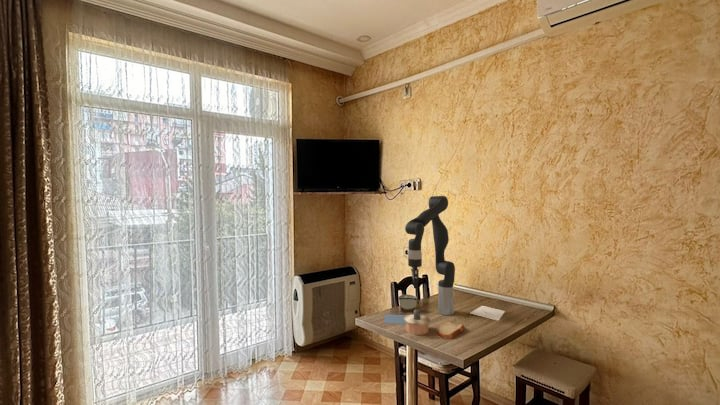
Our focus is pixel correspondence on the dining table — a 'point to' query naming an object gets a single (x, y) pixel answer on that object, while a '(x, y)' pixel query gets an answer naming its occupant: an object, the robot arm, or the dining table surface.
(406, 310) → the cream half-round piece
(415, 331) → the bowl
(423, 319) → the lid
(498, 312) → the paper sheet
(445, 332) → the bread slice
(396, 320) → the mat
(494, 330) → the dining table surface
